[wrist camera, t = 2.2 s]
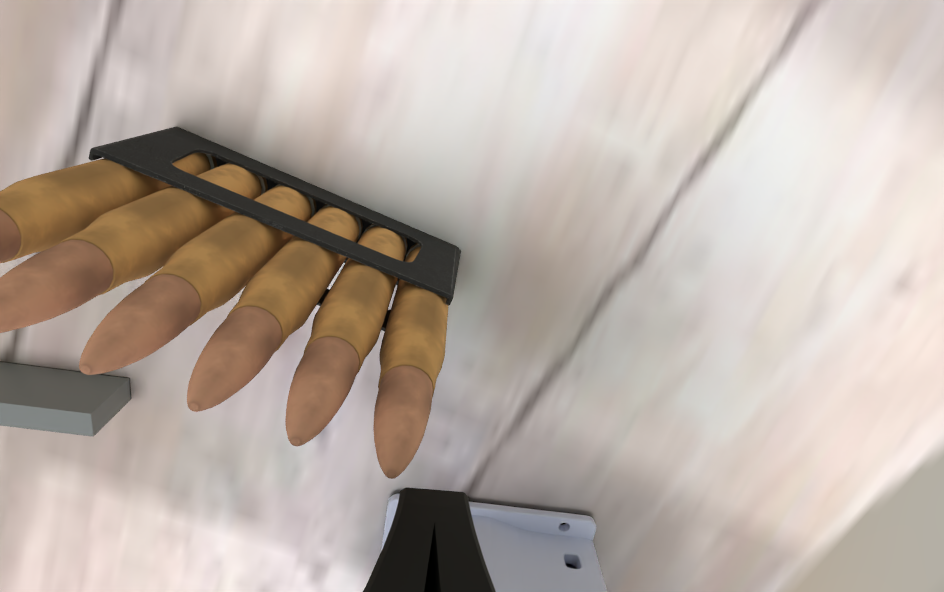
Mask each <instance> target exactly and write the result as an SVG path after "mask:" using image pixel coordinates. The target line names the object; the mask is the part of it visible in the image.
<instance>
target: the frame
mask: <svg viewBox="0 0 944 592" xmlns="http://www.w3.org/2000/svg"><path fill="white" fill-rule="evenodd" d="M130 400H131V395H130V381H129V378H122V377H115V376H107V375H99V374H95V375H86V374H84V373H82V372H76V371H68V370H60V369H53V368H45V367H37V366H29V365H22V364H14V363H6V362H0V425H1V426H10V427H18V428H26V429H34V430H43V431H51V432H59V433H68V434H76V435H84V436H94V435H95V434H96V433H97V432H98V431H99V430H100V429H101V428H102V427H103V426H104V425H105V424H106V423H108V422H109V421H110V420H111V419H112V418H113V417H114V416H115V415H116V414H117V413H118V412H119V411H120V410H121V409H122V408H123V407H124V406H125V405H126V404H127V403H128V402H129V401H130Z"/></svg>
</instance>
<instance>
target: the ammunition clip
mask: <svg viewBox="0 0 944 592" xmlns="http://www.w3.org/2000/svg"><path fill="white" fill-rule="evenodd" d="M102 157H103V158H104V159H100V160H96V159H99V158H102ZM89 159H90V160H96V161H92V162H89V163H85V164H81V165H77V166H73V167H69V168H65V169H61V170H57V171H53V172H49V173H45V174H41V175H37V176H34V177H31V178H27V179H24V180H21V181H18V182H16V183H14V184H12V185H10V186H9V187H7V188H5V189H4V190H2V191H0V263H5V262H8V261H11V260H15V259H17V258H20V257H23V256H26V255H29V254H31V253H35V252H40V253H38V254H36V255H34V256H33V257H31V258H29V259H27V260H26V261H24V262H23V263H21V264H19V265H18V266H16V267H15V268H13V269H11V270H10V271H9V272H7V273H6V274H5V275H3V276H2V277H1V278H0V333H2V332H7V331H11V330H15V329H19V328H23V327H26V326H30V325H33V324H36V323H40V322H43V321H46V320H49V319H51V318H54V317H56V316H59V315H61V314H63V313H66V312H68V311H70V310H72V309H75V308H77V307H79V306H81V305H82V304H84V303H86V302H88V301H89V300H91V299H93V298H94V297H96V296H98V295H101V294H104V293H106V292H108V291H110V290H112V289H114V288H116V287H117V286H119V285H121V284H123V283H125V282H128V281H132V280H136V279H139V278H142V277H146V276H148V275H150V274H152V273H154V272H155V271H157V270H158V269H160V268H161V267H163V268H162V269H160V270H159V271H158V272H156V273H155V274H154V275H153V276H151V277H150V278H149V279H148V280H146V281H145V283H144V284H142V285H141V286H140V287H138V288H137V289H136V290H134V291H133V292H132V293H130V294H129V295H128V296H127V297H125V298H124V299H123V300H122V301H121V302H120V303H119V304H118V305H117V306H116V307H115V308H114V309H112V310H111V311H110V312H109V313H108V314H107V316H106V317H105V318H104V319H103V320H102V322H101V323H100V324H99V325H98V327H97V328H96V330H95V331H94V333H93V334H92V336H91V337H90V339H89V340H88V342H87V344H86V346H85V348H84V350H83V353H82V355H81V359H80V363H79V369H80V371H81V372H82V373H84V374H86V375H95V374H101V373H106V372H109V371H113V370H116V369H120V368H122V367H125V366H127V365H129V364H132V363H134V362H137V361H139V360H141V359H143V358H145V357H146V356H148V355H150V354H152V353H153V352H155V351H156V350H158V349H159V348H161V347H162V346H164V345H165V344H167V343H168V342H170V341H171V340H172V339H174V338H175V337H176V336H178V335H179V334H180V333H181V332H182V331H184V330H185V329H186V328H187V327H188V326H190V325H192V324H193V323H194V322H196V321H197V320H198V319H200V318H201V317H202V316H203V315H204V314H206V313H207V312H209V311H211V310H213V309H215V308H218V307H220V306H222V305H224V304H225V303H226V302H228V301H229V300H230V299H231V298H233V297H234V296H235V295H236V294H237V293H238V292H239V291H241V290H242V289H243V288H244V287H245V286H246V287H245V288H244V290H243V292H242V294H241V297H240V299H239V302H238V303H237V304H236V305H235V307H234V308H233V309H232V310H231V311H230V313H229V314H228V316H227V318H226V319H225V321H224V322H223V323H222V324H221V325H220V326H219V327H218V328H217V330H216V331H215V332H214V334H213V335H212V337H211V338H210V340H209V341H208V343H207V344H206V346H205V348H204V349H203V351H202V353H201V355H200V357H199V359H198V360H197V363H196V365H195V367H194V369H193V372H192V375H191V378H190V381H189V385H188V392H187V404H188V407H189V409H190V410H192V411H195V412H198V411H202V410H206V409H209V408H212V407H214V406H216V405H218V404H220V403H222V402H223V401H225V400H226V399H228V398H229V397H231V396H232V395H233V394H235V393H236V392H238V391H239V390H240V389H241V388H243V387H244V386H245V385H246V384H248V383H249V382H250V381H251V380H252V379H253V378H254V377H255V376H256V375H257V374H258V373H259V372H260V371H261V369H262V368H263V367H264V366H265V365H266V363H267V362H268V361H269V359H270V358H271V356H272V355H273V354H274V352H275V351H277V350H278V349H279V348H280V346H281V345H282V344H283V343H284V341H285V340H286V339H287V338H288V336H289V335H290V334H292V333H293V332H295V331H296V330H297V329H299V328H300V327H301V326H302V325H303V324H304V323H305V322H306V320H307V319H308V317H309V316H310V314H311V312H312V311H313V309H314V308H315V306H316V305H319V306H320V308H319V310H318V311H317V313H316V315H315V317H314V320H313V326H312V332H311V337H310V339H309V341H308V343H307V346H306V348H305V350H304V355H303V357H302V359H301V361H300V363H299V365H298V367H297V369H296V371H295V374H294V377H293V380H292V383H291V387H290V391H289V395H288V401H287V409H286V431H287V435H288V439H289V441H290V443H291V444H292V445H294V446H301V445H303V444H305V443H306V442H308V441H310V440H311V439H313V438H314V437H315V436H317V435H318V434H319V433H320V432H321V431H322V430H323V429H324V428H325V427H326V426H327V424H328V423H329V422H330V421H331V420H332V418H333V417H334V416H335V414H336V413H337V411H338V410H339V408H340V407H341V405H342V404H343V402H344V400H345V399H346V397H347V395H348V393H349V391H350V390H351V387H352V385H353V382H354V379H355V377H356V375H357V373H358V372H359V370H360V368H361V366H362V363H363V361H364V359H365V357H366V356H367V355H368V354H369V353H370V351H371V350H372V348H373V347H374V345H375V344H376V342H377V340H378V337H379V334H380V331H381V330H383V331H385V333H384V337H383V340H382V345H381V349H380V365H381V373H380V379H379V385H378V388H379V391H378V395H377V400H376V405H375V412H374V441H375V447H376V453H377V458H378V461H379V464H380V467H381V469H382V471H383V472H384V474H385V475H386V477H388V478H391V479H393V478H396V477H397V476H399V475H400V474H401V473H402V472H403V471H404V470H405V469H406V467H407V466H408V465H409V463H410V462H411V461H412V459H413V457H414V455H415V453H416V452H417V450H418V448H419V446H420V443H421V441H422V438H423V436H424V433H425V429H426V425H427V422H428V418H429V414H430V410H431V403H432V397H433V393H434V389H435V383H436V378H437V376H438V374H439V372H440V370H441V368H442V364H443V360H444V356H445V344H446V329H447V315H448V305H450V303H451V301H452V299H453V294H454V288H455V282H456V276H457V270H458V264H459V259H460V253H461V251H460V249H459V248H458V247H457V246H454V245H452V244H450V243H447V242H445V241H443V240H440V239H438V238H436V237H433V236H431V235H429V234H426V233H424V232H422V231H419V230H417V229H415V228H412V227H410V226H408V225H405V224H403V223H401V222H398V221H396V220H394V219H391V218H389V217H387V216H384V215H382V214H380V213H377V212H375V211H373V210H370V209H368V208H366V207H363V206H361V205H359V204H356V203H354V202H352V201H349V200H347V199H345V198H342V197H340V196H338V195H335V194H333V193H331V192H328V191H326V190H324V189H321V188H319V187H317V186H314V185H312V184H310V183H307V182H305V181H303V180H300V179H298V178H296V177H293V176H291V175H289V174H286V173H284V172H281V171H279V170H277V169H274V168H272V167H270V166H267V165H265V164H263V163H260V162H258V161H256V160H253V159H251V158H249V157H246V156H244V155H242V154H239V153H237V152H235V151H232V150H230V149H228V148H225V147H223V146H221V145H218V144H216V143H214V142H211V141H209V140H207V139H204V138H202V137H200V136H197V135H195V134H193V133H190V132H188V131H186V130H183V129H181V128H179V127H173V128H169V129H165V130H161V131H157V132H153V133H149V134H145V135H141V136H138V137H134V138H130V139H126V140H122V141H118V142H114V143H110V144H106V145H102V146H98V147H94V148H92V149H91V150H90V154H89ZM343 263H345V265H344V267H343V269H342V270H341V272H340V274H339V275H338V277H337V279H336V281H335V282H334V284H333V286H332V287H331V289H330V290H329V289H327V287H328V286H329V284H330V283H331V281H332V279H333V278H334V276H335V275H336V273H337V272H338V270H339V268H340V267H341V265H342V264H343ZM395 285H398V287H397V290H396V294H395V297H394V301H393V304H392V308H391V310H388V307H389V304H390V300H391V297H392V294H393V291H394V288H395Z"/></svg>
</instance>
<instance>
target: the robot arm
mask: <svg viewBox="0 0 944 592" xmlns="http://www.w3.org/2000/svg"><path fill="white" fill-rule="evenodd" d="M561 523H567V524H565V525H560V524H561ZM595 532H596V524H595V521H594V519H593V518H592V517H590V516H587V515H579V514H570V513H562V512H553V511H545V510H536V509H528V508H519V507H511V506H502V505H494V504H485V503H476V502H469V500H468V496H467V495H466V494H465V493H464V492H454V491H441V490H429V489H416V488H405V489H403V490H401V491H400V494H394V495H392V496H391V497H390V498H389V500H388V505H387V512H386V519H385V526H384V533H383V541H382V548H381V554H380V556H379V558H378V560H377V563H376V565H375V567H374V569H373V572H372V574H371V576H370V579H369V581H368V583H367V585H366V587H365V589H364V591H363V592H607V589H606V586H605V582H604V579H603V575H602V572H601V568H600V564H599V561H598V557H597V554H596V550H595V547H594V543H593V538H594V535H595Z"/></svg>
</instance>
